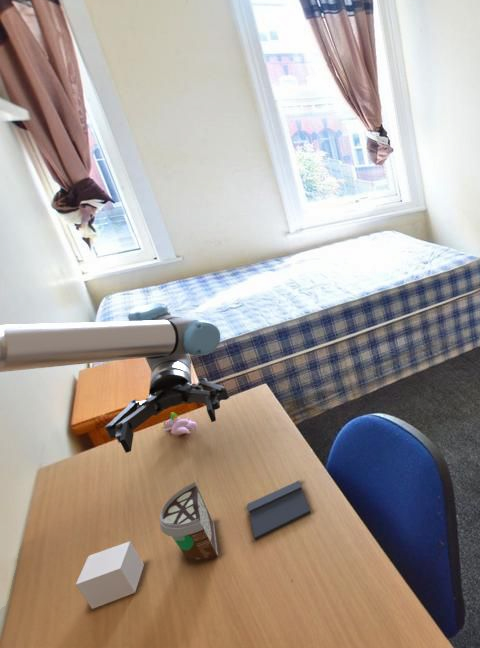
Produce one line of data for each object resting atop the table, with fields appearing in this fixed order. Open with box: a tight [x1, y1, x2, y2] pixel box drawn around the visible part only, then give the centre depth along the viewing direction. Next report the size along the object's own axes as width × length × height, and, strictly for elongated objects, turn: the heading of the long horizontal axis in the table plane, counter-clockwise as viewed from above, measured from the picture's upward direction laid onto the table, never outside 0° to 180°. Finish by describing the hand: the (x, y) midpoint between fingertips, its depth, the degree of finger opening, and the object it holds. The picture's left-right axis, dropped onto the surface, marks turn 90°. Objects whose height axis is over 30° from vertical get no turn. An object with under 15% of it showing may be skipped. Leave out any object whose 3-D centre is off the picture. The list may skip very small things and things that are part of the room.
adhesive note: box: [75, 540, 145, 610], centre depth 80 cm, size 6×6×6 cm
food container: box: [159, 481, 219, 563], centre depth 85 cm, size 12×6×10 cm, turn 35°
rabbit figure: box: [162, 411, 198, 435], centre depth 120 cm, size 6×6×15 cm
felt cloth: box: [247, 480, 311, 541], centre depth 93 cm, size 10×10×1 cm
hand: (170, 430), depth 87 cm, fingers open, 13 cm apart
